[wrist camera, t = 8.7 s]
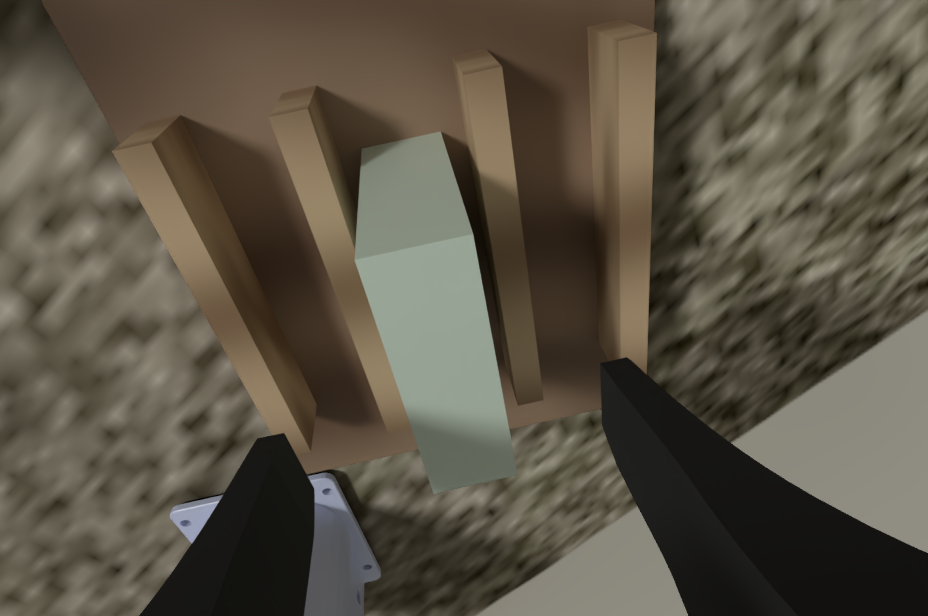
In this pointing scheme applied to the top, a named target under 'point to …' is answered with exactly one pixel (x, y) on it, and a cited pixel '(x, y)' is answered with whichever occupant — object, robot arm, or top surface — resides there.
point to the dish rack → (338, 177)
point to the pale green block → (432, 310)
